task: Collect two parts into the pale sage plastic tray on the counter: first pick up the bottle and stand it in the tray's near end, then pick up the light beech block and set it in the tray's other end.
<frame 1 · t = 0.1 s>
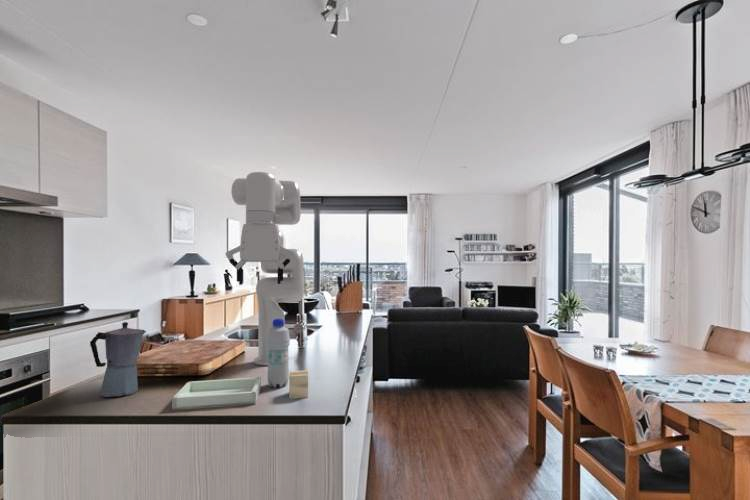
hand: (260, 284, 101), 31 cm above the countertop, fingers open, 9 cm apart
bottle: (278, 385, 115), on the countertop
block: (298, 395, 106), on the countertop
tray: (220, 397, 104), on the countertop
moka pot: (118, 394, 108), on the countertop
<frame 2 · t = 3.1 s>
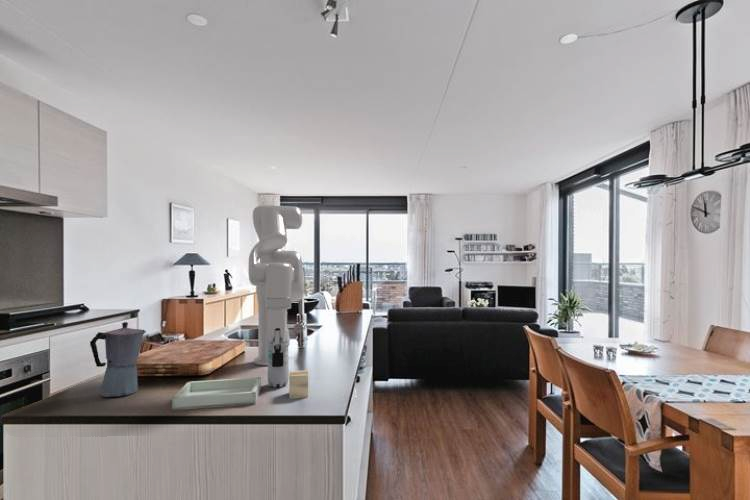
hand: (278, 363, 115), 7 cm above the countertop, fingers closed on bottle, 5 cm apart
bottle: (278, 385, 115), on the countertop, touching gripper
everything else where it was.
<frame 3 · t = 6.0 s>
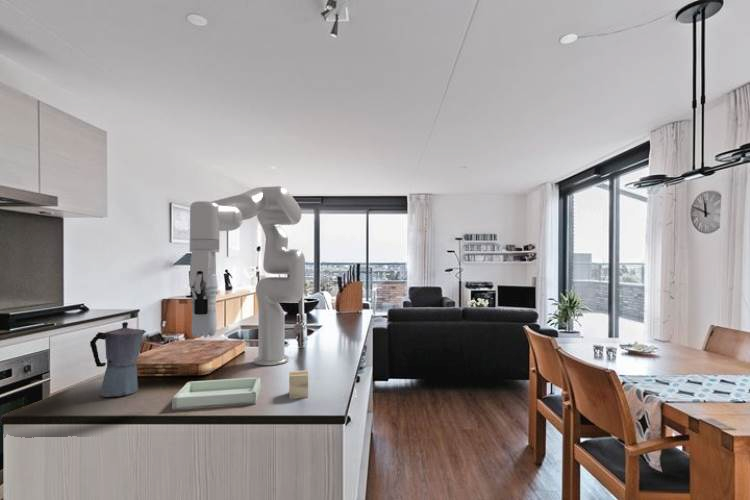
hand: (204, 312, 104), 23 cm above the countertop, fingers closed on bottle, 5 cm apart
bottle: (204, 337, 104), point 17 cm above the countertop, touching gripper
everything else where it was.
when the fingers open (9 cm above the countertop, at t = 9.2 s): bottle drops 2 cm, resting on tray.
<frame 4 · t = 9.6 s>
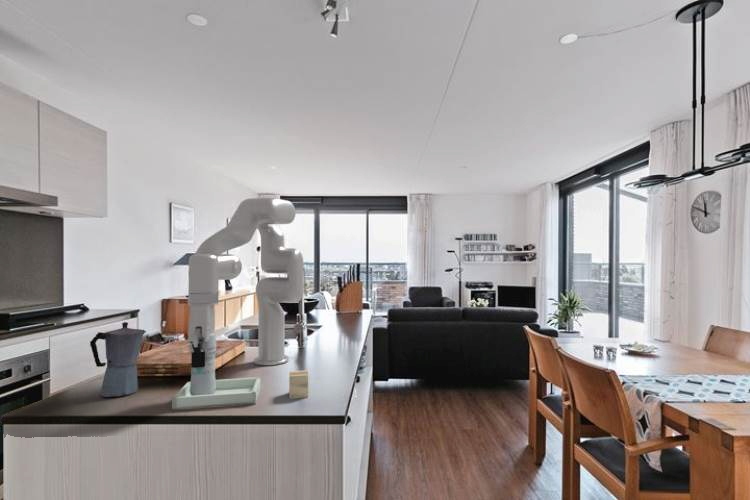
hand: (202, 362, 104), 10 cm above the countertop, fingers open, 9 cm apart
bottle: (203, 397, 104), resting on tray
everything else where it was.
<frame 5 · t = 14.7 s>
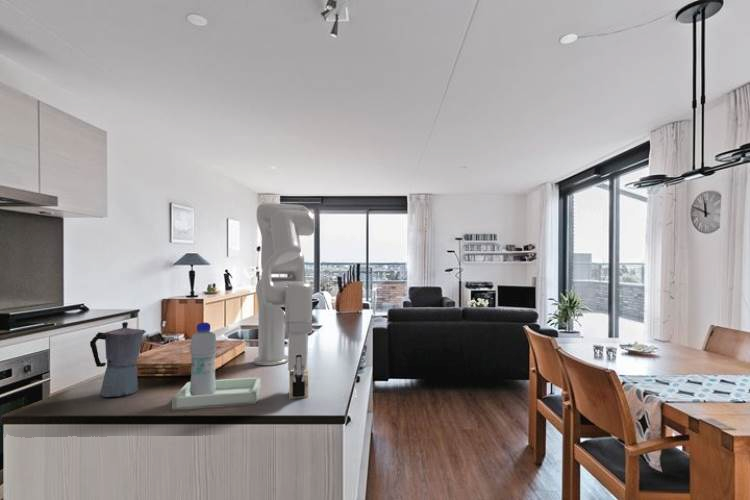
hand: (298, 392, 106), 1 cm above the countertop, fingers closed on block, 5 cm apart
block: (298, 394, 106), on the countertop, touching gripper
everything else where it was.
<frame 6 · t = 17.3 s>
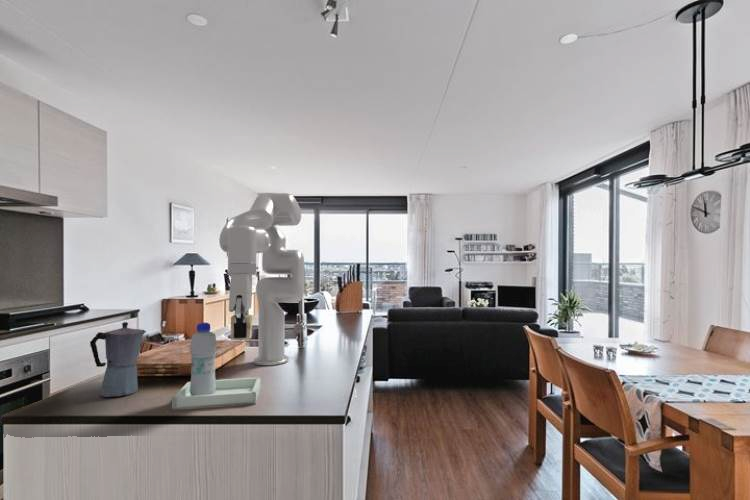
hand: (241, 335, 106), 17 cm above the countertop, fingers closed on block, 5 cm apart
block: (241, 337, 106), point 16 cm above the countertop, touching gripper
everything else where it was.
when the fingers open (3 cm above the countertop, at t = 20.1 s): block drops 1 cm, resting on tray.
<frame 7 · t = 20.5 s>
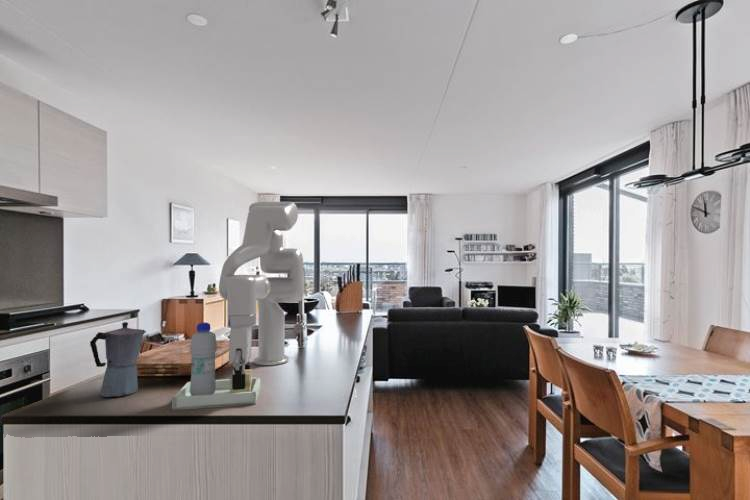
hand: (241, 383, 105), 3 cm above the countertop, fingers open, 8 cm apart
block: (241, 394, 105), point 1 cm above the countertop, touching tray
everything else where it was.
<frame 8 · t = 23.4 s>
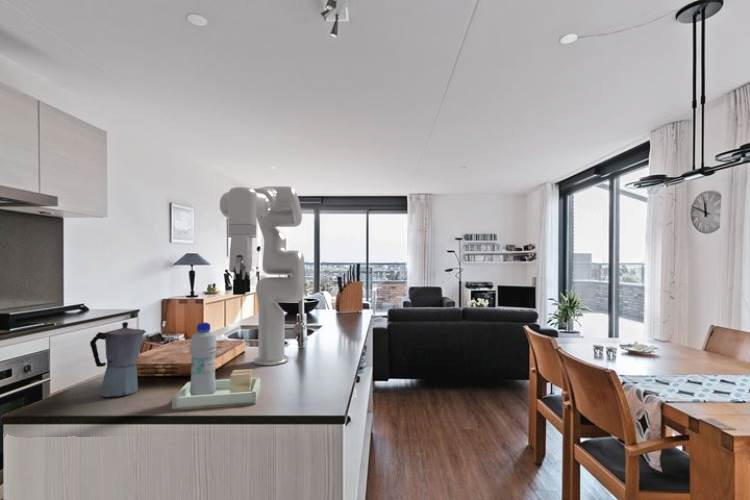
hand: (242, 293, 106), 28 cm above the countertop, fingers open, 9 cm apart
nothing on the countertop moved.
at the end: bottle inside the target area on the tray (0.1 cm from its centre), point 0.4 cm above the tray's base; bottle tilted 0°; block inside the target area on the tray (1.0 cm from its centre), point 0.6 cm above the tray's base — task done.
